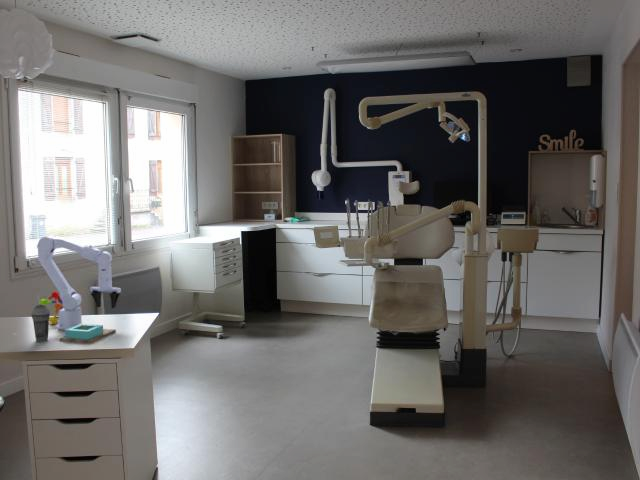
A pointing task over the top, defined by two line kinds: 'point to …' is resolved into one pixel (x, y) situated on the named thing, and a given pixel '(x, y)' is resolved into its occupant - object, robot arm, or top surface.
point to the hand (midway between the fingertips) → (106, 307)
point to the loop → (84, 331)
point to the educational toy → (57, 306)
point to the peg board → (84, 327)
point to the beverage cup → (41, 322)
